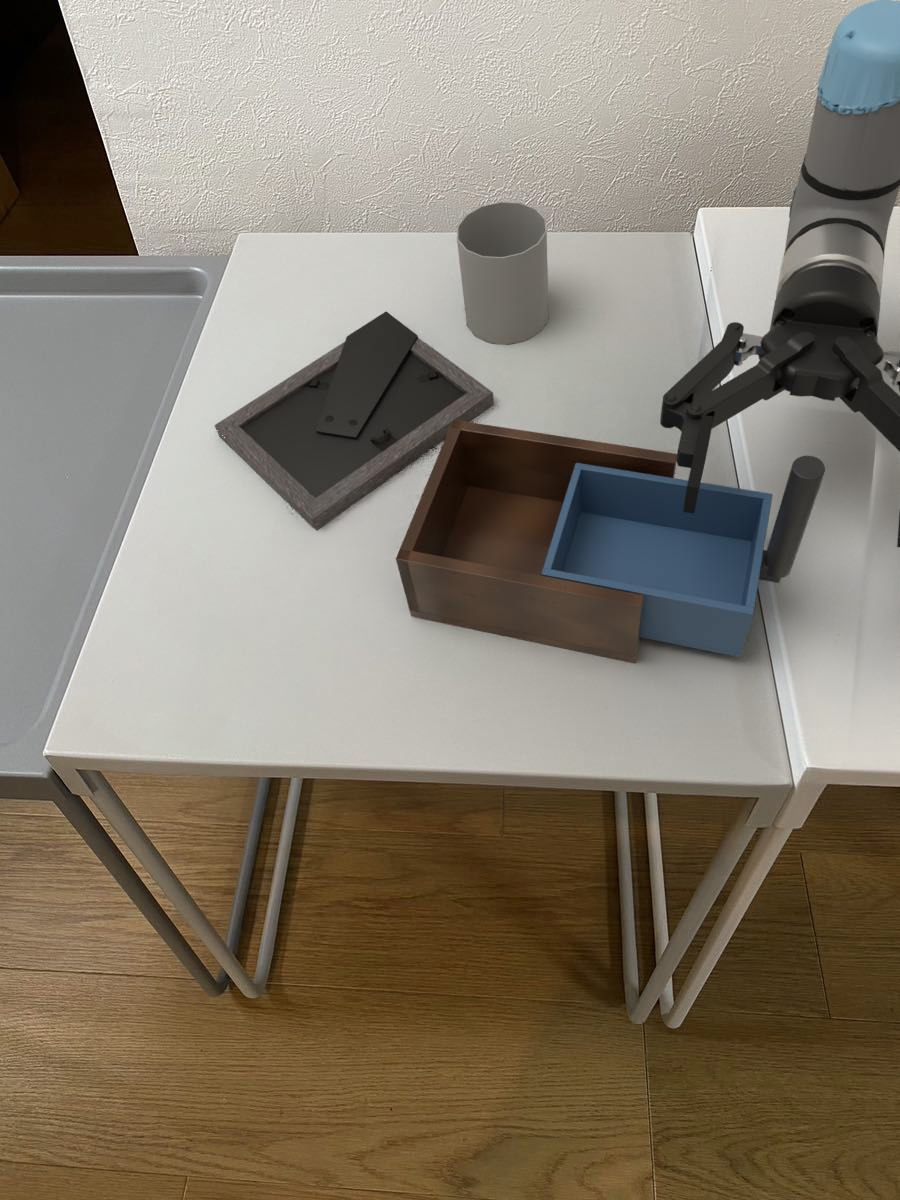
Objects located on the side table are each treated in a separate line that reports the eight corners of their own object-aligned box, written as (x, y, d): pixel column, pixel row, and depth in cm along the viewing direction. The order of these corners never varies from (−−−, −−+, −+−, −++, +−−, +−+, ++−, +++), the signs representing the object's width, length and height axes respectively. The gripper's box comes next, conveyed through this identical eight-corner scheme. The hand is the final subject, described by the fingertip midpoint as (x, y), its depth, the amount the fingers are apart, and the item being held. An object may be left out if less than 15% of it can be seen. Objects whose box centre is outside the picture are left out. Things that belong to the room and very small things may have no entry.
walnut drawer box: (668, 517, 78) (677, 453, 71) (634, 663, 71) (641, 606, 64) (462, 483, 83) (452, 419, 76) (410, 616, 75) (395, 558, 69)
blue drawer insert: (787, 546, 74) (833, 407, 61) (770, 664, 68) (816, 537, 56) (575, 509, 78) (576, 372, 65) (543, 617, 73) (537, 490, 60)
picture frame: (389, 326, 95) (219, 436, 89) (386, 311, 93) (212, 422, 87) (493, 404, 88) (315, 530, 81) (492, 388, 86) (310, 516, 80)
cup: (457, 340, 93) (446, 254, 85) (475, 286, 97) (467, 199, 89) (541, 347, 91) (538, 260, 83) (555, 292, 95) (554, 204, 87)
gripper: (987, 360, 71) (985, 585, 60) (658, 322, 77) (604, 520, 66) (1027, 278, 65) (1033, 513, 54) (665, 244, 71) (608, 449, 60)
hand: (797, 517), depth 60 cm, fingers open, 13 cm apart
